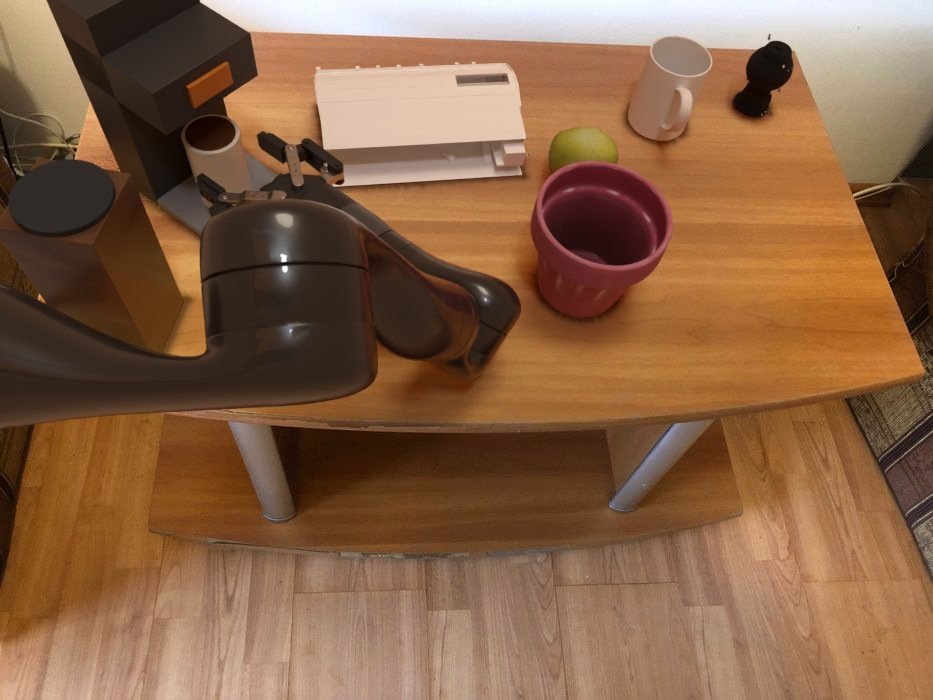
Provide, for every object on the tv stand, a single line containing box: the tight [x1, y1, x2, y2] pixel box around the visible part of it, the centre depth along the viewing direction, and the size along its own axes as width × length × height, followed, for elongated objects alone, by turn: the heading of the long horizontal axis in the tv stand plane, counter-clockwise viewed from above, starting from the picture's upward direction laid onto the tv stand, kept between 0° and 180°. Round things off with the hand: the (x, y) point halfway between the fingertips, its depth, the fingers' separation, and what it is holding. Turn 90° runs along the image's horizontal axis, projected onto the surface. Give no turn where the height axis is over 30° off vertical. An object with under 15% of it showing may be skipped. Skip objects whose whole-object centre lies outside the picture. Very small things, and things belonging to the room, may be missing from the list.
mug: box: [627, 35, 713, 142], centre depth 95 cm, size 12×8×10 cm, turn 0°
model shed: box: [312, 61, 527, 188], centre depth 92 cm, size 25×15×7 cm, turn 100°
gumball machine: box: [732, 33, 795, 119], centre depth 99 cm, size 7×6×10 cm
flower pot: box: [530, 161, 674, 319], centre depth 79 cm, size 14×14×13 cm
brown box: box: [0, 157, 184, 352], centre depth 69 cm, size 8×8×19 cm
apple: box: [548, 126, 619, 175], centre depth 90 cm, size 8×9×8 cm
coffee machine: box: [45, 0, 279, 237], centre depth 77 cm, size 16×12×24 cm
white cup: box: [181, 114, 253, 208], centre depth 82 cm, size 6×6×9 cm
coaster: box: [8, 158, 116, 237], centre depth 60 cm, size 8×8×1 cm
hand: (230, 159), depth 79 cm, fingers open, 8 cm apart
